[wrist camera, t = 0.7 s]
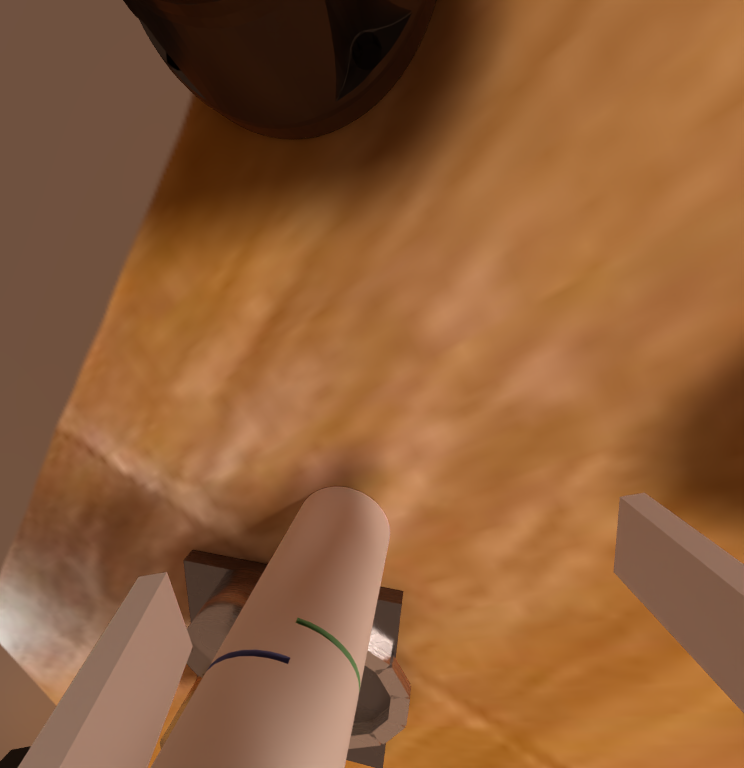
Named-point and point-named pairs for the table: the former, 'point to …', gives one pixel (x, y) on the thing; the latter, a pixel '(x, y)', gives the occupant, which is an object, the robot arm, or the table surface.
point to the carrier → (381, 671)
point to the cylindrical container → (293, 648)
